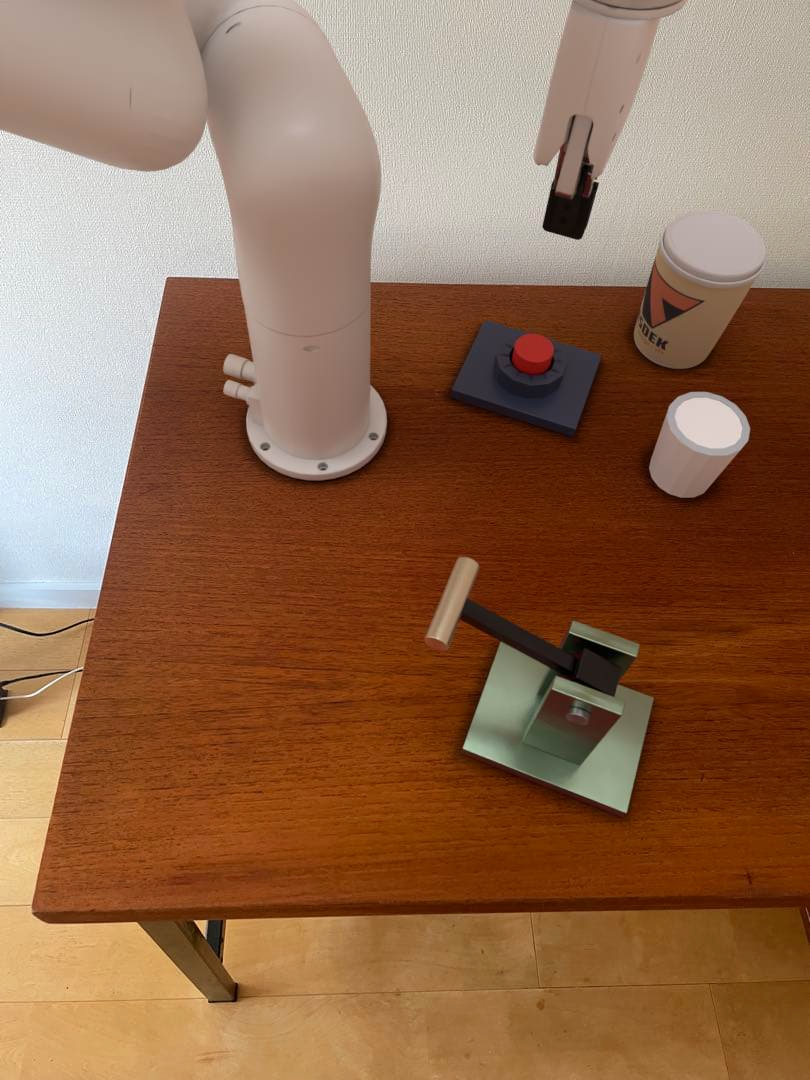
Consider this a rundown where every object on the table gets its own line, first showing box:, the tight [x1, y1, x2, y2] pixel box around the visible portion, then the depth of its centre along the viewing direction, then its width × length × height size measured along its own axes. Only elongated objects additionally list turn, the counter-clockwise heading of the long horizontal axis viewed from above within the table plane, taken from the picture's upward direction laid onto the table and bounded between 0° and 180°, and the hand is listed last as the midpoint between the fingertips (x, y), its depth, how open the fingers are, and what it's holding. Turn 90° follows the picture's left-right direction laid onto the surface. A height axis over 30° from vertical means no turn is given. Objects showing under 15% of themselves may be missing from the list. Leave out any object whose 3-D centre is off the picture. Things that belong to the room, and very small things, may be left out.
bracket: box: [460, 619, 655, 818], centre depth 54 cm, size 12×9×12 cm
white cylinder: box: [648, 391, 751, 499], centre depth 69 cm, size 7×7×7 cm
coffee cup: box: [633, 209, 767, 370], centre depth 75 cm, size 9×9×12 cm
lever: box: [423, 556, 622, 697], centre depth 50 cm, size 12×6×2 cm, turn 69°
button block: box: [450, 319, 603, 438], centre depth 75 cm, size 12×10×3 cm
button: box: [512, 333, 554, 375], centre depth 74 cm, size 4×4×2 cm
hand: (564, 228), depth 62 cm, fingers closed
